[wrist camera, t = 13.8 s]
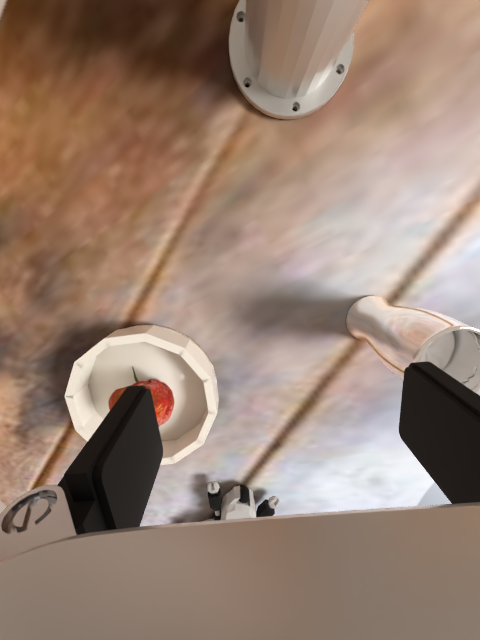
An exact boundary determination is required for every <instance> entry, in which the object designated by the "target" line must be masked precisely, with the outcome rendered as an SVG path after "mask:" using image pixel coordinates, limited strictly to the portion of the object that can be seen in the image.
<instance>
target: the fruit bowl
mask: <svg viewBox="0 0 480 640" xmlns="http://www.w3.org/2000/svg"><path fill="white" fill-rule="evenodd" d="M132 367H133V368H134V371H135V374H136V377H137V379H138V381H139V382H140V381H148V380H150V379H157V380H159V381H161V382H164V383H165V384H167V385H168V386H169V388H170V389H171V390H172V393H173V397H174V408H173V411H172V414H171V416H170V418H169V420H168V421H166V422H165V423H164V424H162V425H160V426H159V431H160V436H161V440H162V445H163V458H162V461H161V464H160V465H166V464H174V463H176V462H178V461H179V460H181V459H182V458H183V457H185V456H186V455H188V454H189V453H191V452H192V451H194V450H195V449H197V448H198V447H200V446H201V445H203V444H204V441H205V439H206V437H207V435H208V433H209V430H210V428H211V426H212V424H213V421H214V419H215V417H216V415H217V410H218V401H219V397H218V391H217V378H216V374H215V371H214V366H213V365H212V363H211V362H210V360H209V358H208V356H207V355H206V354H205V352H204V351H203V350H202V349H201V348H200V347H199V346H198V344H196V343H195V342H194V341H193V340H192V339H190V338H189V337H187V336H186V335H184V334H182V333H180V332H178V331H176V330H174V329H170V328H167V327H163V326H158V325H136V326H131V327H127V328H124V329H118V330H115V331H114V332H113V333H111V334H110V335H108V336H107V337H105V338H104V339H103V340H102V341H100V342H99V343H98V344H97V345H95V346H94V347H93V348H91V349H90V350H89V351H88V352H86V353H85V354H84V355H83V356H81V357H80V358H79V359H78V360H76V361H75V362H74V365H73V369H72V372H71V375H70V379H69V382H68V386H67V389H66V393H65V399H66V403H67V406H68V409H69V412H70V415H71V418H72V421H73V425H74V428H75V430H76V431H77V432H78V433H79V434H80V435H81V436H82V437H83V438H84V439H85V440H86V441H87V442H88V441H89V439H90V438H91V436H92V435H93V434H94V432H95V431H96V429H97V428H98V427H99V425H100V424H101V422H102V421H103V420H104V418H105V417H106V416H107V414H108V413H109V411H110V409H109V403H108V402H109V398H110V396H111V395H112V393H113V392H114V391H115V390H116V389H120V388H123V387H127V386H130V385H133V384H134V383H136V381H135V379H134V373H133V369H132Z"/></svg>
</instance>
